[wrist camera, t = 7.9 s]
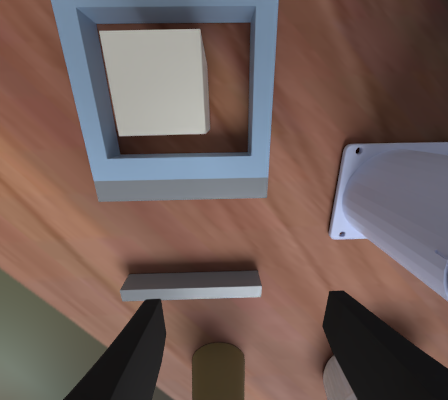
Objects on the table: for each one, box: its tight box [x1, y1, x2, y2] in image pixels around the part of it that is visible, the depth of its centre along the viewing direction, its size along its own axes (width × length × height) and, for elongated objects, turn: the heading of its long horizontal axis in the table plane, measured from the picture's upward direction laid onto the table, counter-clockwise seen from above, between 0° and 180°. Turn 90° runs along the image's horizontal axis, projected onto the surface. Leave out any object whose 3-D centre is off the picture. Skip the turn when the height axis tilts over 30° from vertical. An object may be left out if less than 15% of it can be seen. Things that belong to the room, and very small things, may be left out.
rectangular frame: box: [51, 0, 278, 301], centre depth 15 cm, size 12×21×2 cm, turn 1°
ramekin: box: [323, 355, 357, 400], centre depth 23 cm, size 11×11×5 cm
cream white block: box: [99, 29, 210, 136], centre depth 12 cm, size 4×4×6 cm
